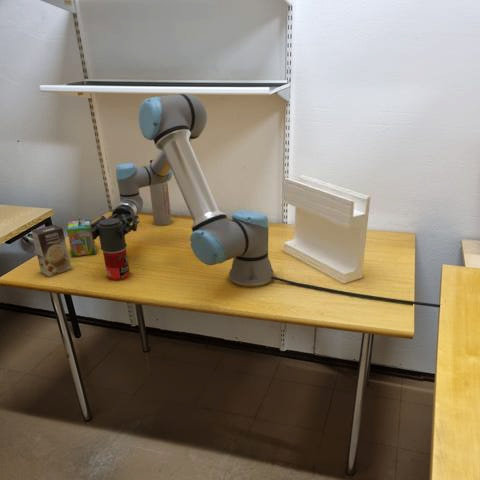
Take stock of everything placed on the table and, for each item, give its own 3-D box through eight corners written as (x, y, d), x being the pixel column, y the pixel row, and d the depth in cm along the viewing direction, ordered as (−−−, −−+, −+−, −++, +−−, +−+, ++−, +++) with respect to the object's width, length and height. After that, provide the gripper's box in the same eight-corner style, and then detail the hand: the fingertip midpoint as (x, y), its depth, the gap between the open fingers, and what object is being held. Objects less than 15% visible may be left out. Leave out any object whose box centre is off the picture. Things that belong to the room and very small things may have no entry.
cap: (131, 247, 165) (127, 220, 160) (108, 254, 160) (103, 227, 155) (118, 240, 170) (114, 215, 166) (96, 247, 166) (91, 221, 161)
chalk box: (72, 248, 195) (65, 213, 187) (96, 246, 197) (89, 211, 189) (71, 257, 187) (63, 220, 180) (96, 254, 189) (88, 218, 182)
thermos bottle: (175, 221, 221) (168, 158, 207) (164, 226, 215) (156, 162, 201) (161, 219, 224) (154, 157, 210) (150, 224, 219) (142, 160, 205)
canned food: (125, 281, 167) (120, 252, 161) (103, 280, 168) (98, 250, 163) (133, 272, 173) (129, 243, 168) (113, 271, 175) (108, 242, 169)
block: (361, 277, 164) (370, 196, 149) (343, 283, 160) (350, 201, 146) (299, 246, 190) (302, 174, 176) (283, 250, 186) (284, 178, 172)
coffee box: (48, 277, 172) (37, 234, 164) (40, 272, 176) (29, 230, 168) (72, 269, 177) (62, 227, 169) (64, 264, 181) (54, 223, 173)
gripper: (154, 223, 179) (140, 245, 159) (98, 224, 180) (77, 246, 161) (151, 203, 175) (136, 224, 156) (94, 204, 176) (73, 225, 157)
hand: (106, 235), depth 158 cm, fingers closed on cap, 8 cm apart
